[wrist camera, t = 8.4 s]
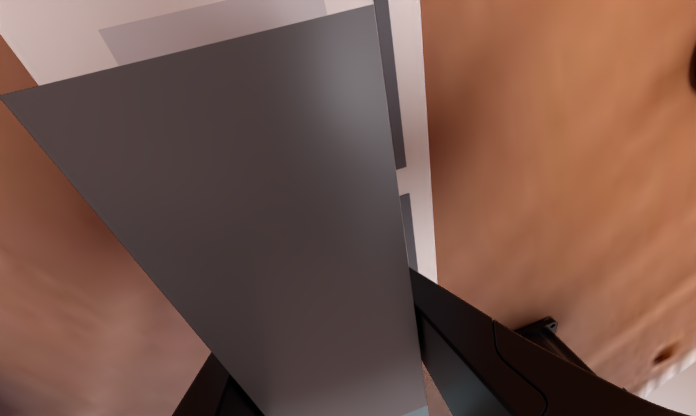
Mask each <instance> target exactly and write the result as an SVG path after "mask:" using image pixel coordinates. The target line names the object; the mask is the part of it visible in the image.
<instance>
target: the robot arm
mask: <svg viewBox="0 0 696 416" xmlns="http://www.w3.org/2000/svg"><path fill="white" fill-rule="evenodd" d="M409 273H410V280H411V288H412V295H413V303H414V310H415V317H416V325H417V332H418V340H419V347H420V355H421V360H422V361H423V363H424V365H425V367H426V369H427V370H428V372H429V374H430V376H431V377H432V379H433V381H434V383H435V385H436V386H437V388H438V390H439V392H440V393H441V395H442V397H443V399H444V400H445V402H446V404H447V406H448V408H449V409H450V411H451V413H452V415H453V416H689V415H686V414H682V413H679V412H676V411H673V410H670V409H667V408H664V407H662V406H659V405H656V404H654V403H651V402H649V401H647V400H644V399H642V398H640V397H638V396H636V395H634V394H632V393H629V392H628V391H627V390H626V389H625V388H620V387H618V386H616V385H614V384H612V383H610V382H608V381H606V380H604V379H602V378H600V377H598V376H597V375H596V374H595V373H594V372H593V371H592V370H591V369H590V368H589V367H588V366H587V365H586V364H585V363H584V362H583V361H582V360H581V359H580V358H579V357H578V356H577V355H576V354H575V353H574V352H573V351H572V350H571V349H570V348H568V347H567V346H566V345H565V344H564V343H563V342H562V341H561V340H560V339H559V338H558V337H557V336H556V335H555V332H556V328H557V325H558V322H556V321H555V320H554V319H553V318H550V319H548V320H545V321H542V322H540V323H537V324H535V325H532V326H529V327H527V328H524V329H522V330H519V331H517V332H514V331H512V330H511V329H509V328H507V327H506V326H504V325H502V324H501V323H499V322H498V321H496V320H493V321H492V318H491V317H489V316H488V315H486V314H485V313H483V312H481V311H480V310H478V309H477V308H475V307H473V306H472V305H470V304H468V303H467V302H465V301H464V300H462V299H460V298H459V297H457V296H456V295H454V294H452V293H451V292H449V291H448V290H446V289H444V288H443V287H441V286H440V285H438V284H436V283H435V282H433V281H431V280H430V279H428V278H427V277H425V276H423V275H422V274H420V273H419V272H417V271H415V270H414V269H412V268H411V267H409ZM172 416H265V415H264V414H263V413H262V411H261V410H260V409H259V408H258V407H257V405H256V404H255V403H254V402H253V401H252V399H251V398H250V397H249V396H248V395H247V393H246V392H245V391H244V390H243V389H242V387H241V386H240V385H239V384H238V383H237V381H236V380H235V379H234V378H233V377H232V375H231V374H230V373H229V372H228V371H227V369H226V368H225V367H224V366H223V365H222V363H221V362H220V361H219V360H218V359H217V357H216V356H215V355H214V354H213V353H212V352H211V354H210V355H209V357H208V358H207V360H206V362H205V363H204V365H203V366H202V368H201V370H200V371H199V373H198V374H197V376H196V378H195V379H194V381H193V382H192V384H191V386H190V387H189V389H188V391H187V392H186V394H185V395H184V397H183V399H182V400H181V402H180V403H179V405H178V407H177V408H176V410H175V411H174V413H173V415H172Z"/></svg>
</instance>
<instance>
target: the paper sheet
mask: <svg viewBox="0 0 696 416" xmlns="http://www.w3.org/2000/svg"><path fill="white" fill-rule="evenodd" d="M372 4H374V11H375V19H376V26H377V34H378V41H379V49H380V56H381V64H382V71H383V79H384V86H385V94H386V101H387V108H388V116H389V123H390V131H391V138H392V146H393V153H394V161H395V168H396V176H397V183H398V191H399V198H400V205H401V213H402V220H403V228H404V235H405V243H406V250H407V258H408V265H409V267H411V268H412V269H414V270H415V271H417V272H419V273H420V274H422V275H423V276H425V277H427V278H428V279H430V280H431V281H433V282H435V283H436V284H437V270H436V253H435V237H434V221H433V205H432V188H431V172H430V156H429V140H428V123H427V107H426V91H425V75H424V58H423V42H422V26H421V10H420V0H0V35H1V36H2V37H3V39H4V40H5V41H6V43H7V44H8V45H9V47H10V48H11V49H12V51H13V52H14V53H15V55H16V56H17V57H18V59H19V60H20V61H21V63H22V64H23V65H24V67H25V68H26V69H27V71H28V72H29V73H30V75H31V76H32V77H33V79H34V80H35V81H36V83H37V84H38V85H39V86H40V85H44V84H48V83H52V82H56V81H60V80H65V79H69V78H73V77H77V76H81V75H85V74H89V73H93V72H97V71H101V70H106V69H110V68H114V67H118V66H122V65H126V64H130V63H134V62H138V61H142V60H147V59H151V58H155V57H159V56H163V55H167V54H171V53H175V52H179V51H183V50H188V49H192V48H196V47H200V46H204V45H208V44H212V43H216V42H220V41H224V40H229V39H233V38H237V37H241V36H245V35H249V34H253V33H257V32H261V31H265V30H269V29H274V28H278V27H282V26H286V25H290V24H294V23H298V22H302V21H306V20H310V19H315V18H319V17H323V16H327V15H331V14H335V13H339V12H343V11H347V10H351V9H356V8H360V7H364V6H368V5H372Z"/></svg>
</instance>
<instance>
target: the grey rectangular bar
mask: <svg viewBox="0 0 696 416" xmlns="http://www.w3.org/2000/svg"><path fill="white" fill-rule="evenodd" d="M0 99H1V100H2V101H3V102H4V104H5V105H6V106H7V107H8V108H9V110H10V111H11V112H12V113H13V114H14V116H15V117H16V118H17V119H18V120H19V122H20V123H21V124H22V125H23V126H24V128H25V129H26V130H27V131H28V132H29V134H30V135H31V136H32V137H33V138H34V140H35V141H36V142H37V143H38V144H39V146H40V147H41V148H42V149H43V150H44V152H45V153H46V154H47V155H48V156H49V158H50V159H51V160H52V161H53V162H54V164H55V165H56V166H57V167H58V168H59V170H60V171H61V172H62V173H63V174H64V176H65V177H66V178H67V179H68V180H69V181H70V183H71V184H72V185H73V186H74V187H75V189H76V190H77V191H78V192H79V193H80V195H81V196H82V197H83V198H84V199H85V201H86V202H87V203H88V204H89V205H90V207H91V208H92V209H93V210H94V211H95V213H96V214H97V215H98V216H99V217H100V219H101V220H102V221H103V222H104V223H105V225H106V226H107V227H108V228H109V229H110V231H111V232H112V233H113V234H114V235H115V237H116V238H117V239H118V240H119V241H120V243H121V244H122V245H123V246H124V247H125V249H126V250H127V251H128V252H129V253H130V255H131V256H132V257H133V258H134V259H135V261H136V262H137V263H138V264H139V265H140V266H141V268H142V269H143V270H144V271H145V272H146V274H147V275H148V276H149V277H150V278H151V280H152V281H153V282H154V283H155V284H156V286H157V287H158V288H159V289H160V290H161V292H162V293H163V294H164V295H165V296H166V298H167V299H168V300H169V301H170V302H171V304H172V305H173V306H174V307H175V308H176V310H177V311H178V312H179V313H180V314H181V316H182V317H183V318H184V319H185V320H186V322H187V323H188V324H189V325H190V326H191V328H192V329H193V330H194V331H195V332H196V334H197V335H198V336H199V337H200V338H201V340H202V341H203V342H204V343H205V344H206V346H207V347H208V348H209V349H210V350H211V351H212V353H213V354H214V355H215V356H216V357H217V359H218V360H219V361H220V362H221V363H222V365H223V366H224V367H225V368H226V369H227V371H228V372H229V373H230V374H231V375H232V377H233V378H234V379H235V380H236V381H237V383H238V384H239V385H240V386H241V387H242V389H243V390H244V391H245V392H246V393H247V395H248V396H249V397H250V398H251V399H252V401H253V402H254V403H255V404H256V405H257V407H258V408H259V409H260V410H261V411H262V413H263V414H264V415H265V416H429V414H428V407H427V400H426V392H425V385H424V377H423V370H422V362H421V355H420V347H419V340H418V332H417V325H416V317H415V310H414V303H413V295H412V288H411V280H410V273H409V265H408V258H407V250H406V243H405V235H404V228H403V220H402V213H401V205H400V198H399V191H398V183H397V176H396V168H395V161H394V153H393V146H392V138H391V131H390V123H389V116H388V108H387V101H386V94H385V86H384V79H383V71H382V64H381V56H380V49H379V41H378V34H377V26H376V19H375V11H374V4H372V5H368V6H364V7H360V8H356V9H351V10H347V11H343V12H339V13H335V14H331V15H327V16H323V17H319V18H315V19H310V20H306V21H302V22H298V23H294V24H290V25H286V26H282V27H278V28H274V29H269V30H265V31H261V32H257V33H253V34H249V35H245V36H241V37H237V38H233V39H229V40H224V41H220V42H216V43H212V44H208V45H204V46H200V47H196V48H192V49H188V50H183V51H179V52H175V53H171V54H167V55H163V56H159V57H155V58H151V59H147V60H142V61H138V62H134V63H130V64H126V65H122V66H118V67H114V68H110V69H106V70H101V71H97V72H93V73H89V74H85V75H81V76H77V77H73V78H69V79H65V80H60V81H56V82H52V83H48V84H44V85H40V86H36V87H32V88H28V89H24V90H20V91H15V92H11V93H7V94H3V95H0Z"/></svg>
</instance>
